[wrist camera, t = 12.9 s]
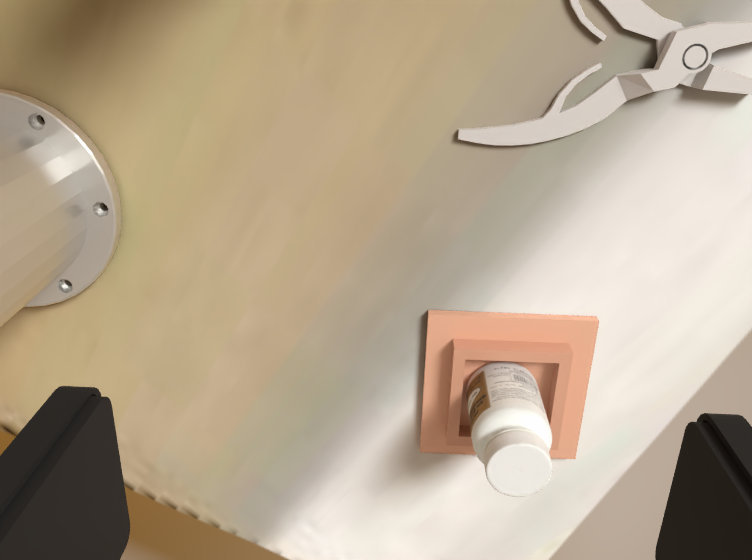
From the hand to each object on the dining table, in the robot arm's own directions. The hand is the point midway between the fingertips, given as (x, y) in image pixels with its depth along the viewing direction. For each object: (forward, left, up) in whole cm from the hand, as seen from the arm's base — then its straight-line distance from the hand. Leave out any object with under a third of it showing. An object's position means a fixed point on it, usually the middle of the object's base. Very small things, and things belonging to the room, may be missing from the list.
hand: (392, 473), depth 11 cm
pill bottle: (+7, -16, -28) cm, 33 cm away
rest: (+7, -16, -28) cm, 33 cm away
